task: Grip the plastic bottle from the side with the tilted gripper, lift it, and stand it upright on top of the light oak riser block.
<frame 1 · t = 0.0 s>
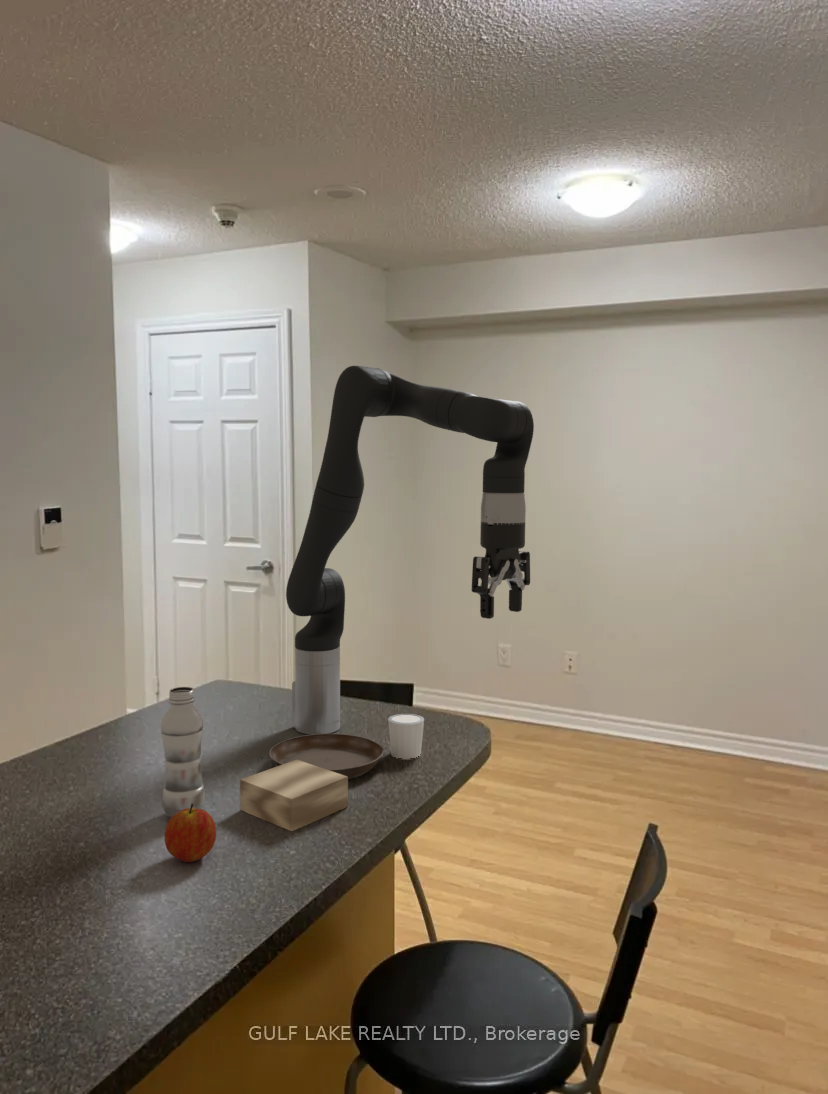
hand: (501, 614, 144), 29 cm above the countertop, tool pointing down, fingers open, 8 cm apart
plant saucer: (327, 768, 154), on the countertop
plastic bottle: (184, 816, 131), on the countertop
oak riser: (294, 808, 134), on the countertop
fruit: (191, 860, 117), on the countertop
white cup: (405, 755, 160), on the countertop
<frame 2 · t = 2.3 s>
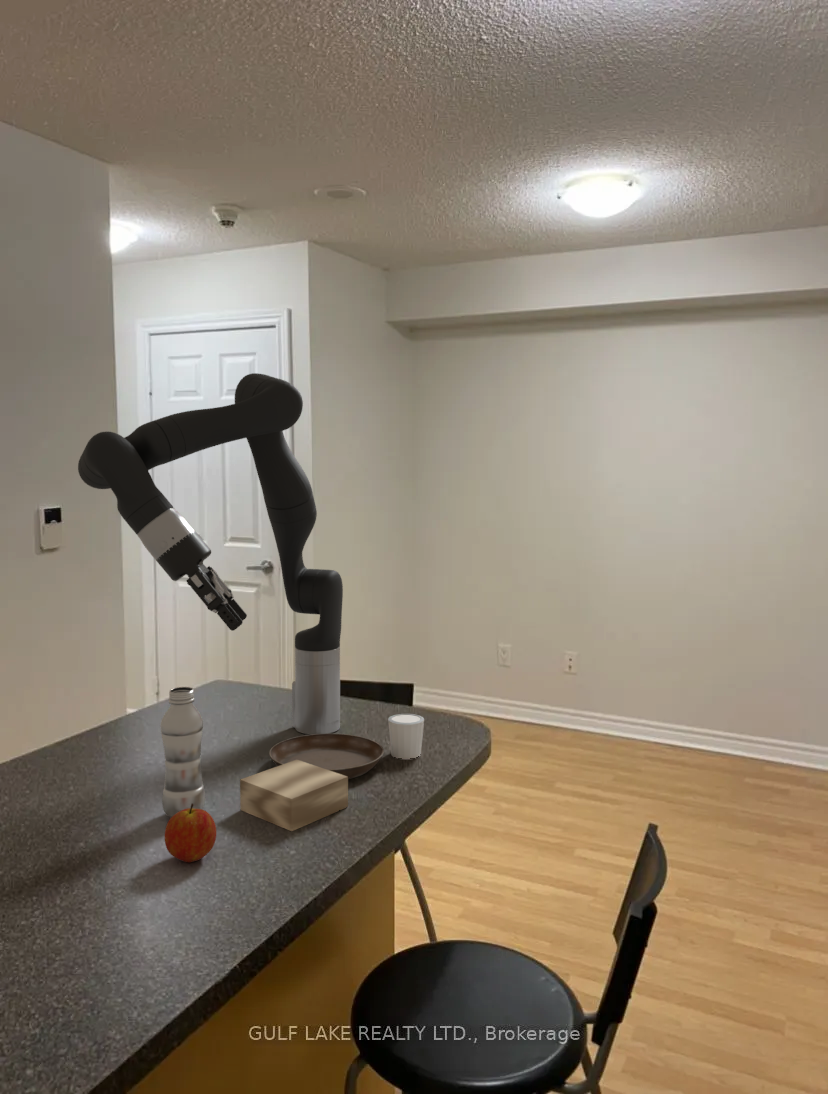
hand: (240, 623, 134), 29 cm above the countertop, tool tilted 40°, fingers open, 8 cm apart
nothing on the countertop moved.
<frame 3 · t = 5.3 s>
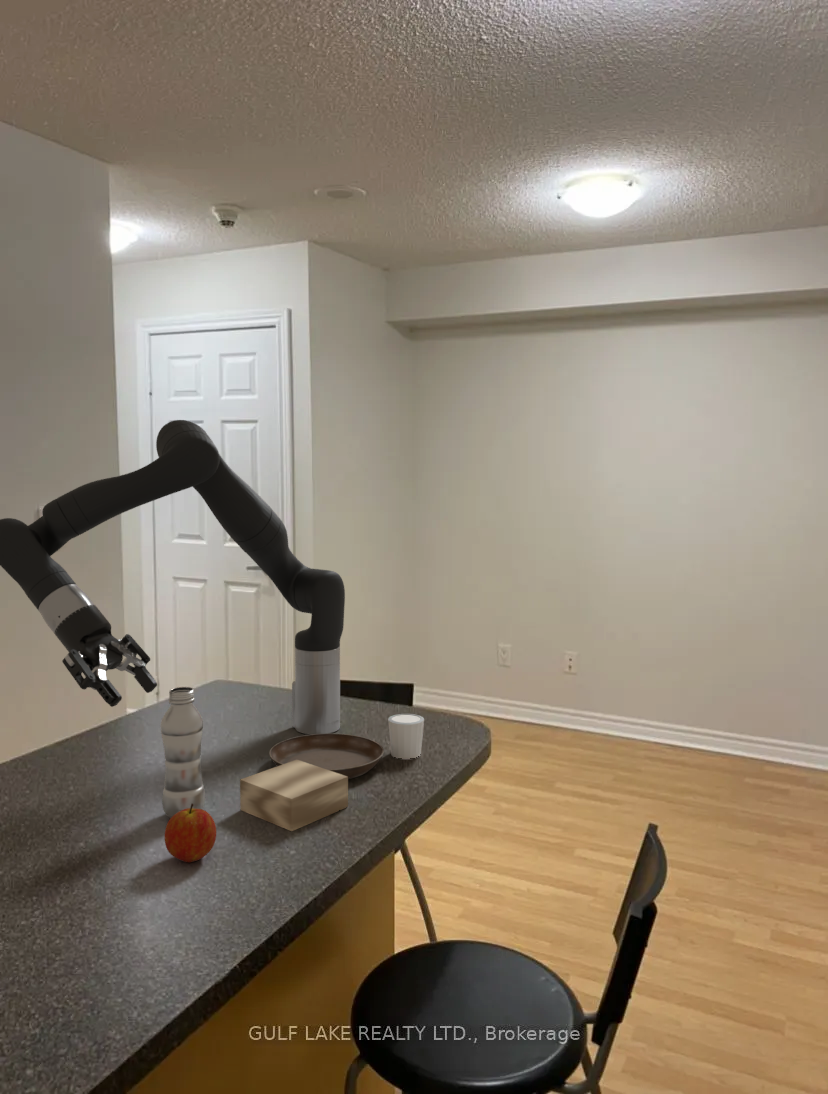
hand: (135, 695, 133), 18 cm above the countertop, tool tilted 45°, fingers open, 8 cm apart
nothing on the countertop moved.
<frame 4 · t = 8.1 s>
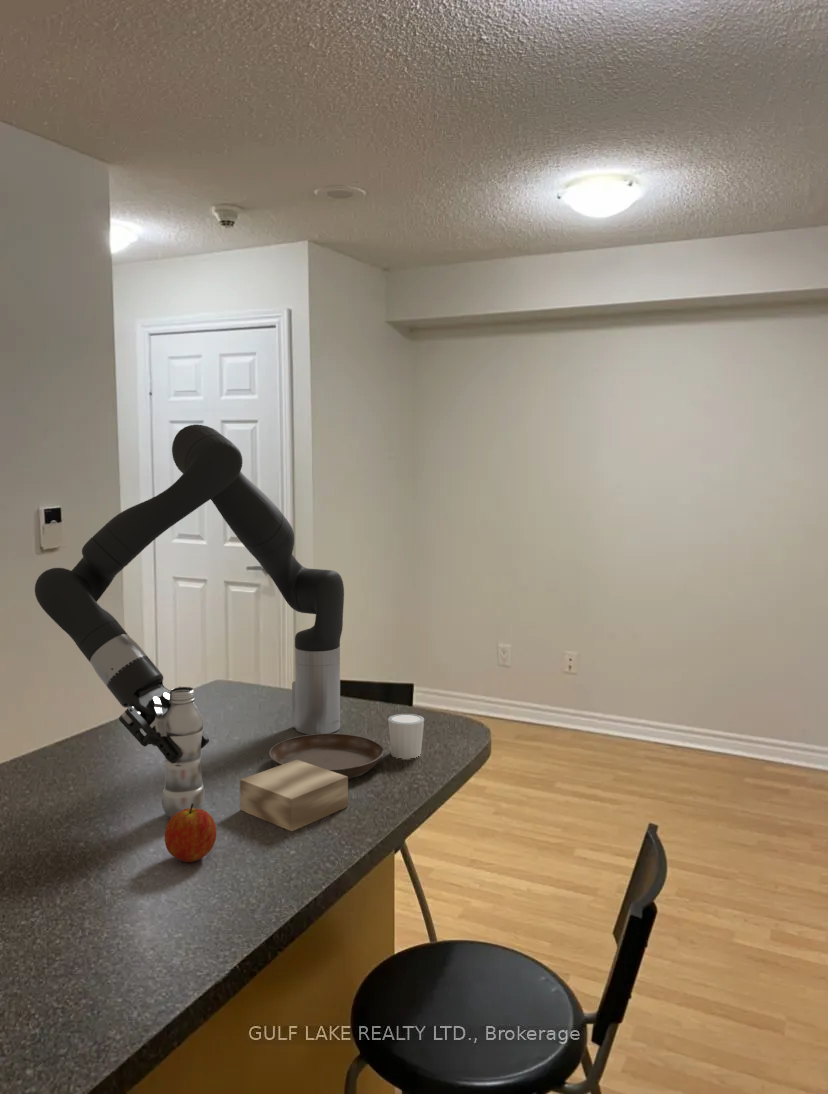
hand: (191, 752, 130), 10 cm above the countertop, tool tilted 45°, fingers closed on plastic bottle, 6 cm apart
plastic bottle: (184, 816, 131), on the countertop, touching gripper
everything else where it was.
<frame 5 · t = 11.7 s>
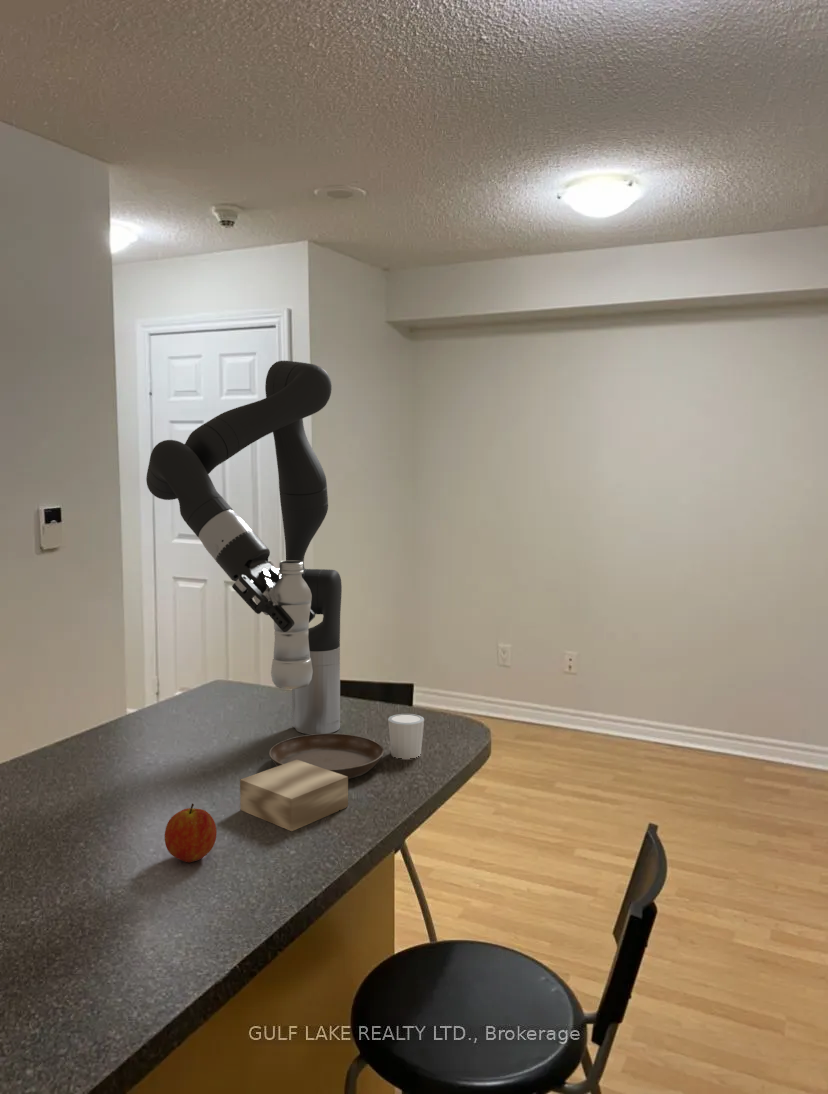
hand: (300, 623, 131), 30 cm above the countertop, tool tilted 45°, fingers closed on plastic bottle, 6 cm apart
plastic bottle: (291, 689, 133), point 19 cm above the countertop, touching gripper
everything else where it was.
when the fingers open (17 cm above the countertop, at t = 15.5 s): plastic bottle drops 1 cm, resting on oak riser.
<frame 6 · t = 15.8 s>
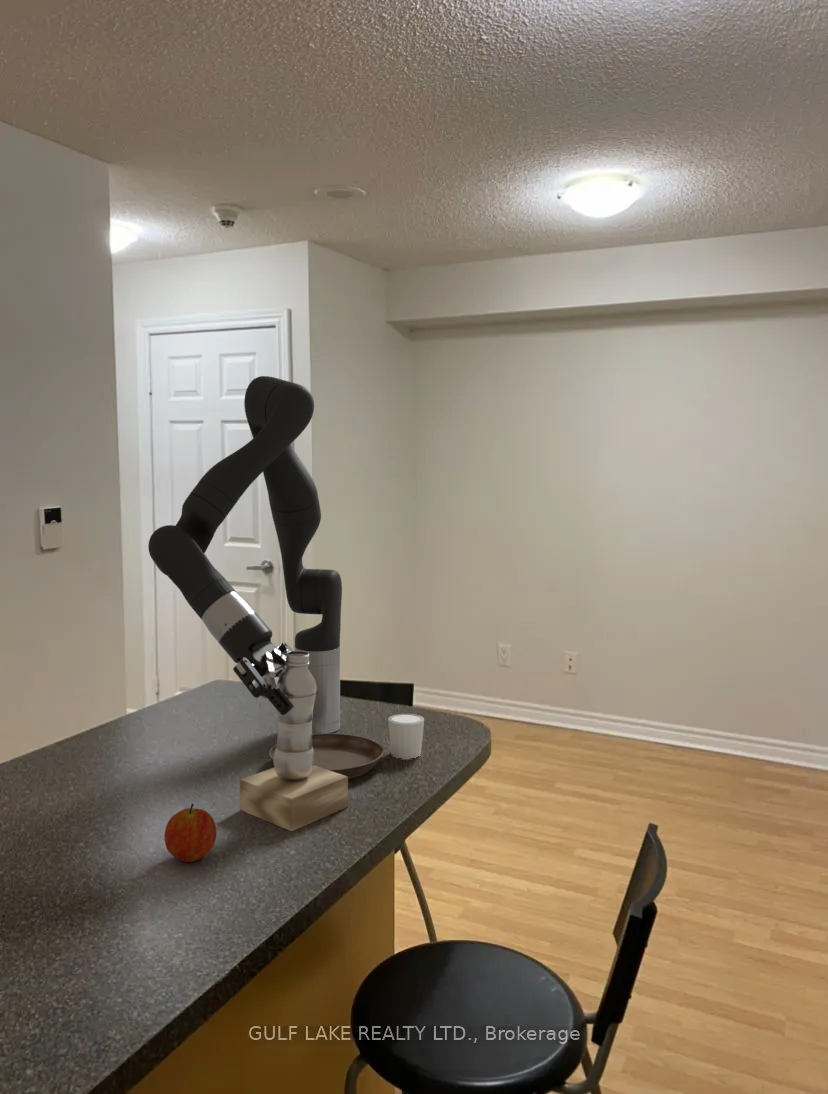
hand: (301, 704, 132), 17 cm above the countertop, tool tilted 45°, fingers open, 8 cm apart
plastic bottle: (293, 778, 134), point 5 cm above the countertop, touching oak riser
everything else where it was.
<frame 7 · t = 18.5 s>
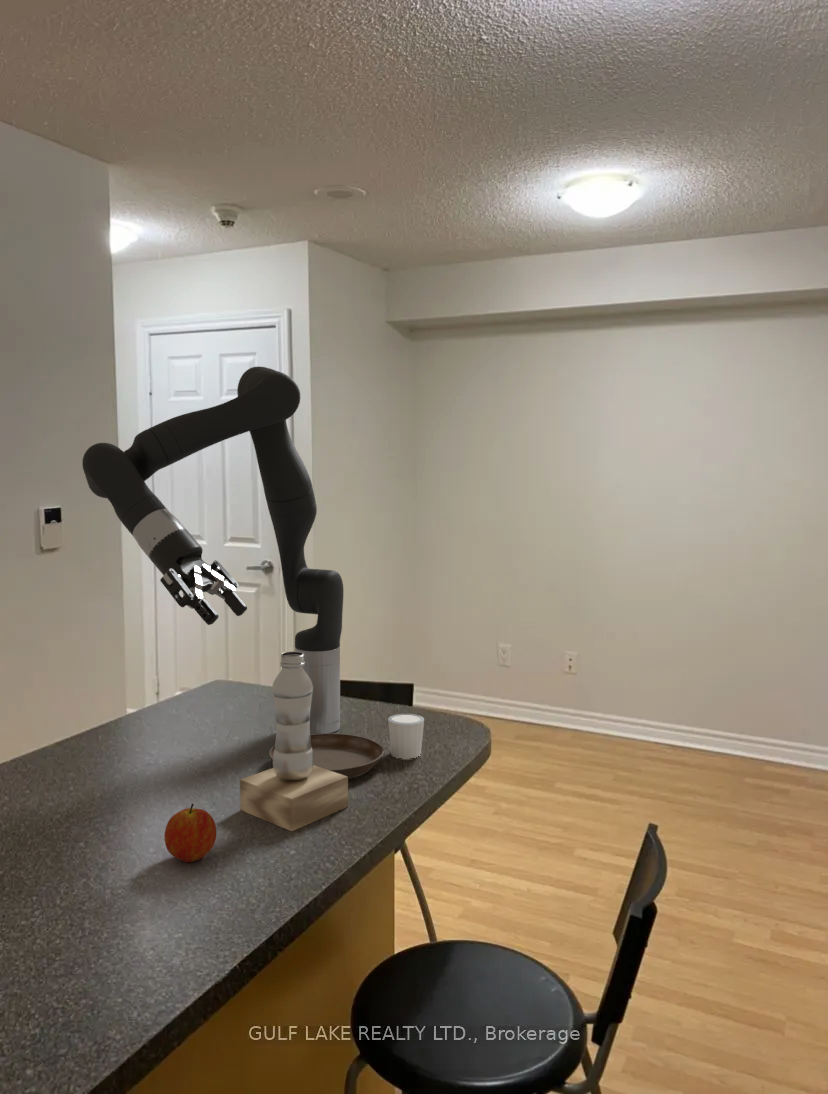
hand: (229, 616, 135), 30 cm above the countertop, tool tilted 45°, fingers open, 8 cm apart
nothing on the countertop moved.
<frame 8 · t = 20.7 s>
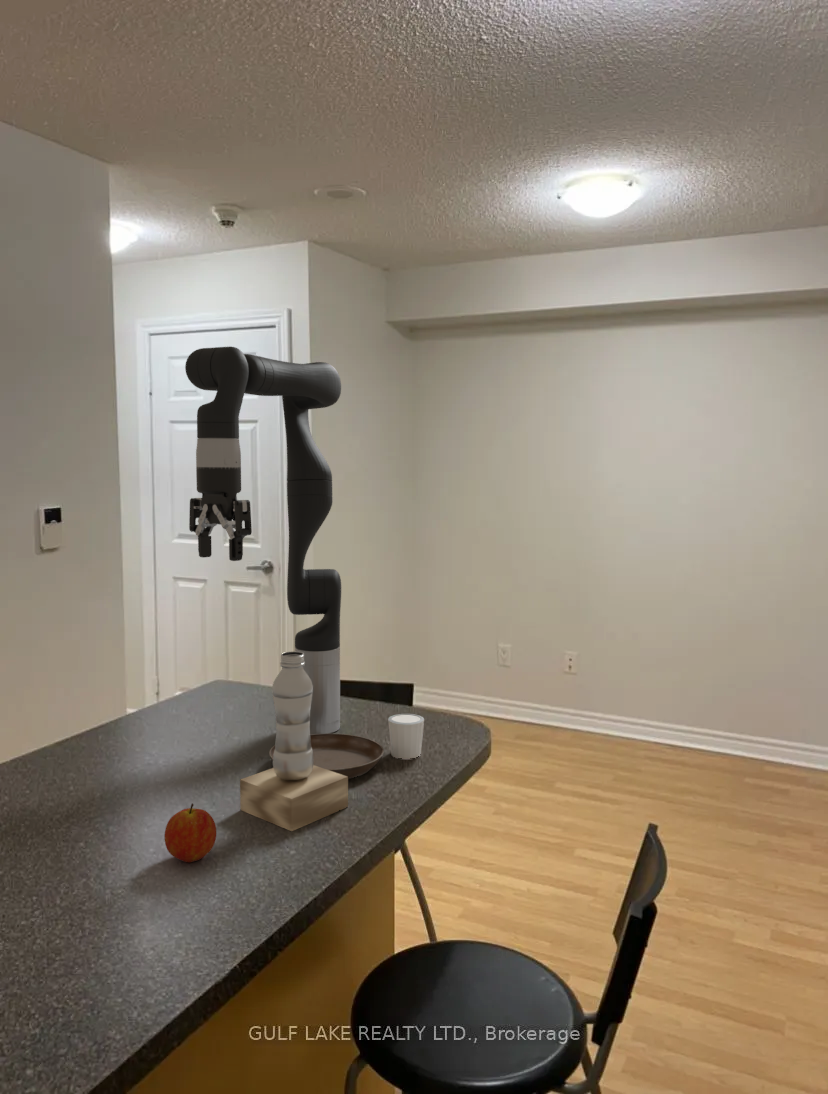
hand: (220, 558, 147), 38 cm above the countertop, tool pointing down, fingers open, 8 cm apart
nothing on the countertop moved.
at the end: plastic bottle inside the target area on the oak riser (0.2 cm from its centre), point 4.8 cm above the oak riser's base; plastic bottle tilted 0°; the gripper is holding nothing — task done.
